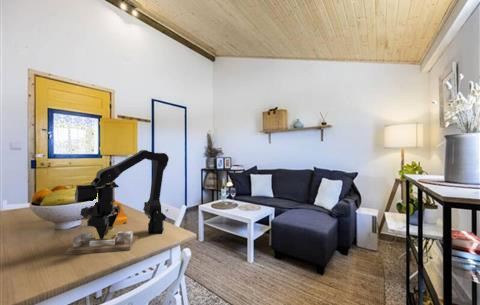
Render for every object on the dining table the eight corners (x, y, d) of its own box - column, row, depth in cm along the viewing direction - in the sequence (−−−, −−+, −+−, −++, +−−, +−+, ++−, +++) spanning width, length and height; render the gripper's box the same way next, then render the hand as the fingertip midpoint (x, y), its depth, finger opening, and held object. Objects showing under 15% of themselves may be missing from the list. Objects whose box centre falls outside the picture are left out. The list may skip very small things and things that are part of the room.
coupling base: (137, 238, 102) (137, 226, 101) (130, 250, 90) (130, 236, 90) (82, 241, 97) (82, 229, 97) (66, 254, 85) (66, 240, 85)
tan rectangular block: (95, 244, 91) (95, 230, 91) (99, 240, 95) (99, 226, 95) (111, 243, 92) (111, 229, 92) (114, 239, 96) (114, 226, 96)
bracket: (105, 227, 114) (106, 204, 114) (103, 224, 120) (103, 202, 120) (128, 223, 122) (128, 201, 121) (124, 219, 127) (124, 199, 127)
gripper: (94, 194, 101) (94, 228, 101) (71, 205, 82) (71, 246, 83) (120, 194, 103) (120, 227, 103) (104, 204, 85) (104, 244, 85)
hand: (105, 235), depth 93 cm, fingers open, 7 cm apart
